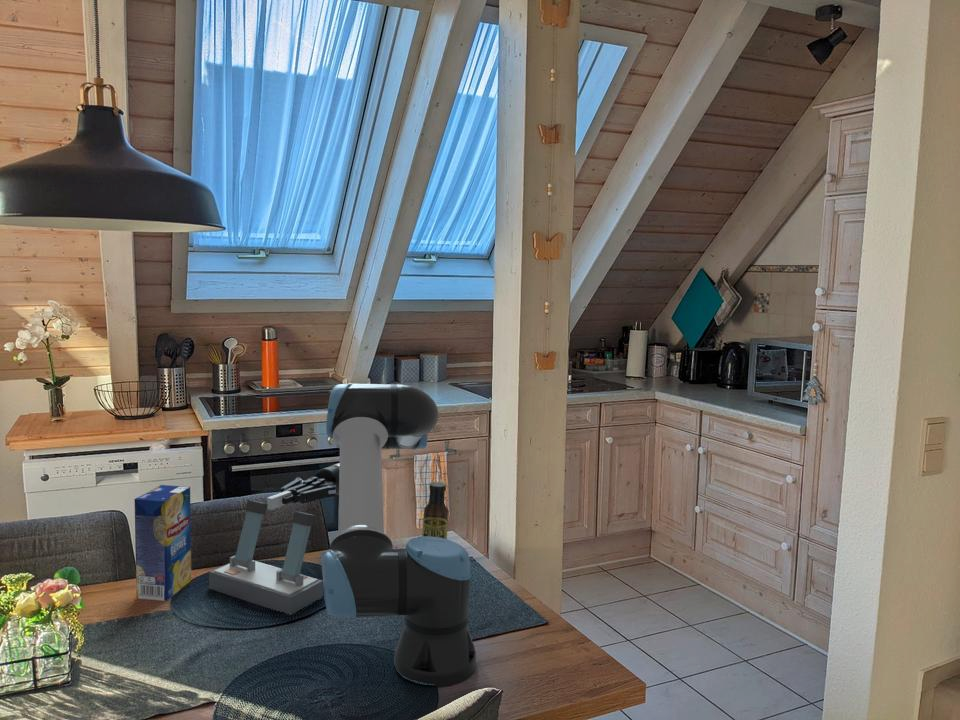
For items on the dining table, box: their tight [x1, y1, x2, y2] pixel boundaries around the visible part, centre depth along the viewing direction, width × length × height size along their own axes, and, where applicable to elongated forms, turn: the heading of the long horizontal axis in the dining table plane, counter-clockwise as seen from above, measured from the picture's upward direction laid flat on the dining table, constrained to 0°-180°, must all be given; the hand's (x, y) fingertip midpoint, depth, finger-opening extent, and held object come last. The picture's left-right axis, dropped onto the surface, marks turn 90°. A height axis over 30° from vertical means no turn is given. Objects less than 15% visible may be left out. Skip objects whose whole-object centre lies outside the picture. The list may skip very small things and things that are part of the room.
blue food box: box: [133, 484, 192, 602], centre depth 168 cm, size 7×11×22 cm, turn 173°
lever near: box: [281, 511, 316, 582], centre depth 166 cm, size 4×2×14 cm, turn 61°
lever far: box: [234, 499, 268, 568], centre depth 173 cm, size 4×2×14 cm, turn 61°
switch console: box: [208, 554, 324, 616], centre depth 169 cm, size 24×10×6 cm, turn 61°
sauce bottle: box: [421, 481, 449, 540], centre depth 190 cm, size 6×6×20 cm
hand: (269, 503), depth 178 cm, fingers closed
